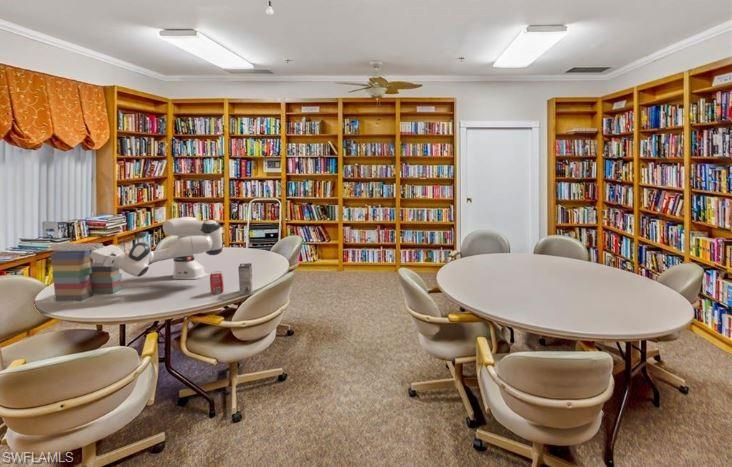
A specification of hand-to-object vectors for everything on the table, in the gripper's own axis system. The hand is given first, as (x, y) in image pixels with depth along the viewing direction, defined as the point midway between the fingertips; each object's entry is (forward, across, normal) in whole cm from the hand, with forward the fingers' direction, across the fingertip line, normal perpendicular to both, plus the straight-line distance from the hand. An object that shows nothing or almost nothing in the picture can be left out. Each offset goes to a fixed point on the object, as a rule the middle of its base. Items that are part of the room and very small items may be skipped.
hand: (92, 245), depth 218 cm
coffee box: (-83, -6, -14) cm, 84 cm away
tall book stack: (-4, 0, +31) cm, 31 cm away
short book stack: (-12, -12, +27) cm, 32 cm away
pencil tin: (+6, 0, +6) cm, 8 cm away
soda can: (-69, -6, -6) cm, 69 cm away
